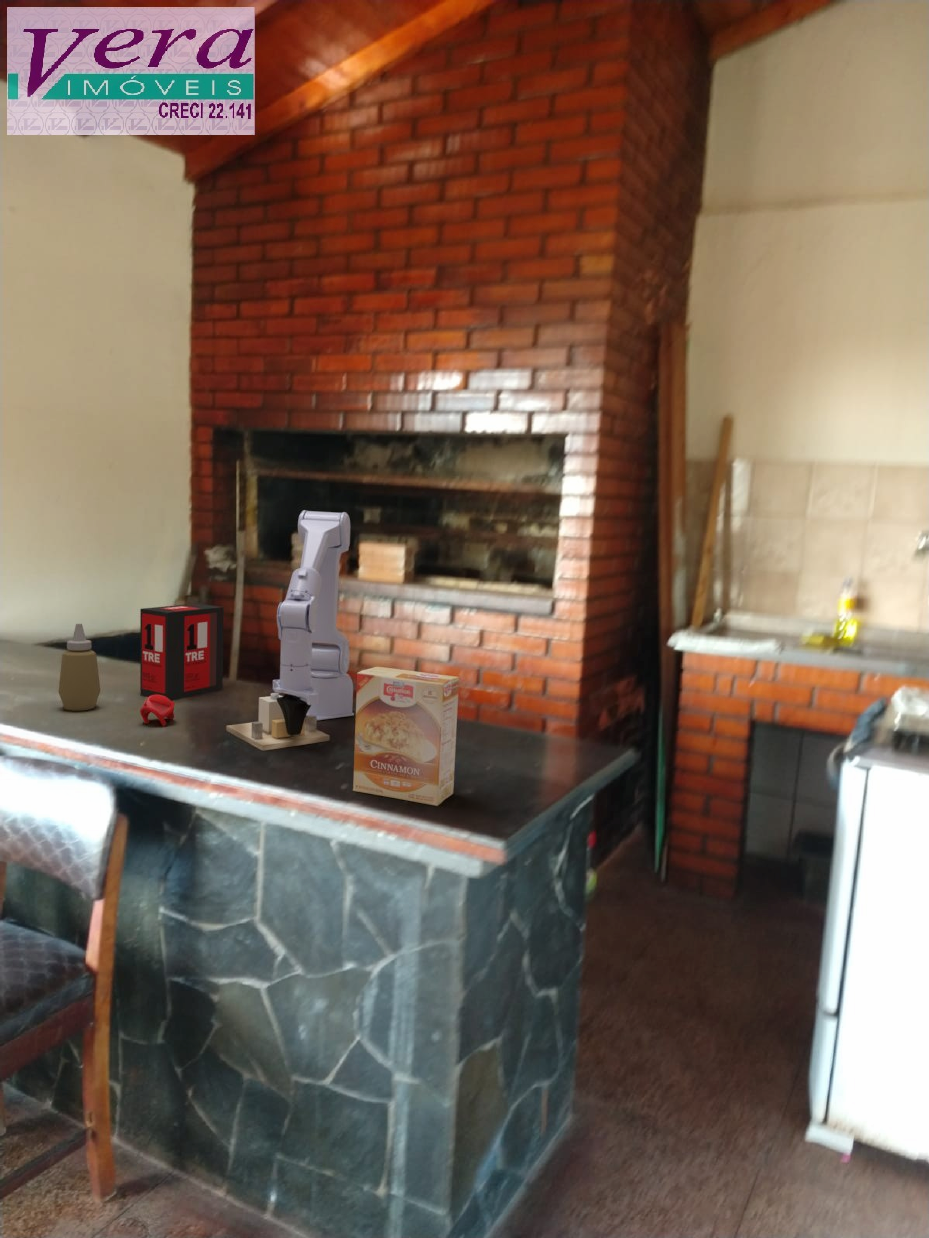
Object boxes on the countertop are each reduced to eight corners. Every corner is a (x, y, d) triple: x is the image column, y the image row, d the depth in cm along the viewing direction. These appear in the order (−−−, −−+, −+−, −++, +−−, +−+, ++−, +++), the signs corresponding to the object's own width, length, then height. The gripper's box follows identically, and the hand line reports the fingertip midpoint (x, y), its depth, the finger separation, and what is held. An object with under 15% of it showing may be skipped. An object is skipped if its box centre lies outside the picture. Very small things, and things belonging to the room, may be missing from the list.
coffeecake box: (351, 791, 136) (355, 672, 134) (371, 779, 143) (376, 665, 140) (437, 807, 131) (443, 683, 129) (454, 793, 138) (460, 675, 135)
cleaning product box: (196, 684, 208) (196, 603, 205) (222, 689, 204) (223, 607, 201) (140, 695, 194) (140, 608, 191) (167, 701, 189) (167, 612, 187)
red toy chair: (162, 714, 166) (180, 693, 170) (136, 701, 167) (155, 681, 171) (163, 738, 171) (181, 718, 176) (138, 726, 172) (157, 706, 177)
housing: (279, 724, 170) (280, 690, 169) (289, 729, 167) (290, 694, 166) (258, 727, 168) (259, 692, 167) (268, 732, 164) (269, 697, 163)
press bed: (290, 722, 177) (290, 703, 176) (329, 740, 165) (329, 720, 164) (226, 730, 168) (226, 710, 168) (262, 750, 156) (263, 729, 155)
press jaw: (299, 731, 165) (300, 716, 165) (304, 734, 164) (305, 718, 164) (271, 735, 162) (271, 720, 161) (276, 738, 160) (276, 722, 160)
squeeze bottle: (49, 709, 178) (48, 624, 175) (80, 702, 185) (79, 620, 183) (79, 714, 175) (78, 628, 172) (109, 707, 182) (108, 623, 180)
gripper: (258, 658, 162) (257, 728, 164) (295, 672, 151) (293, 746, 153) (292, 656, 167) (290, 723, 168) (329, 669, 156) (327, 741, 157)
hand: (294, 734), depth 161 cm, fingers closed
